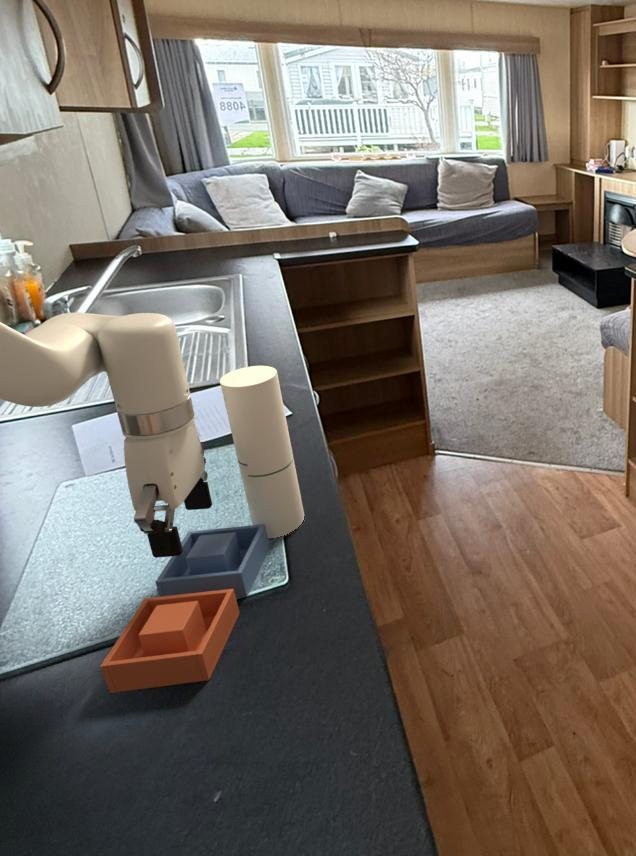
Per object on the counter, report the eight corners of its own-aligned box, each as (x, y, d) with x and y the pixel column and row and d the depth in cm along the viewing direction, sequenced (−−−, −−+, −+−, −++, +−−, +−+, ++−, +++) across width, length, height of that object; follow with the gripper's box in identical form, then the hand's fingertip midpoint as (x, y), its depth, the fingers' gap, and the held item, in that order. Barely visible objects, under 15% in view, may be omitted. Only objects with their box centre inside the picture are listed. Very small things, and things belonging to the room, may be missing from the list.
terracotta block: (147, 665, 75) (137, 635, 73) (165, 634, 79) (156, 605, 77) (191, 660, 75) (182, 630, 74) (206, 629, 80) (198, 600, 78)
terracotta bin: (109, 693, 72) (100, 666, 70) (152, 623, 81) (144, 598, 80) (209, 680, 74) (201, 653, 72) (239, 613, 83) (233, 588, 81)
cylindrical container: (283, 504, 104) (254, 362, 95) (315, 517, 101) (288, 371, 92) (243, 530, 98) (208, 380, 89) (275, 544, 95) (242, 390, 86)
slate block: (193, 585, 87) (185, 558, 85) (206, 562, 91) (199, 535, 89) (230, 581, 87) (223, 554, 86) (241, 558, 92) (235, 532, 90)
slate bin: (162, 606, 84) (155, 582, 82) (194, 554, 93) (188, 531, 92) (247, 597, 85) (241, 572, 84) (269, 546, 95) (265, 523, 93)
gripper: (155, 385, 86) (181, 494, 92) (83, 453, 70) (119, 579, 76) (216, 383, 88) (238, 490, 94) (159, 448, 72) (189, 573, 78)
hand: (184, 530), depth 85 cm, fingers open, 9 cm apart
